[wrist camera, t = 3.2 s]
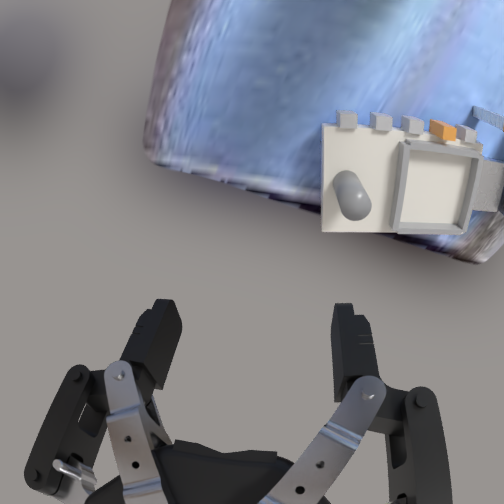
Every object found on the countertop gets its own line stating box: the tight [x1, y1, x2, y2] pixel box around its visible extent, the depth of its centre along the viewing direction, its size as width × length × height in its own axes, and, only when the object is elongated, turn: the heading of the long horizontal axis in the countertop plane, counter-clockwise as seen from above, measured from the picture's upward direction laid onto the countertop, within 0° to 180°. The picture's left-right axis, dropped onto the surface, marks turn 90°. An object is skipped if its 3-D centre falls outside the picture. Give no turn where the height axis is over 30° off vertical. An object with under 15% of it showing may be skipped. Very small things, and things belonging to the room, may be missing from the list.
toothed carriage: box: [321, 110, 484, 235], centre depth 21 cm, size 16×11×6 cm
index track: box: [320, 106, 504, 215], centre depth 21 cm, size 24×12×6 cm, turn 95°
